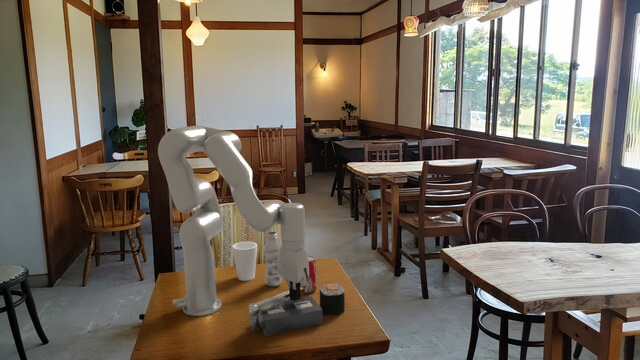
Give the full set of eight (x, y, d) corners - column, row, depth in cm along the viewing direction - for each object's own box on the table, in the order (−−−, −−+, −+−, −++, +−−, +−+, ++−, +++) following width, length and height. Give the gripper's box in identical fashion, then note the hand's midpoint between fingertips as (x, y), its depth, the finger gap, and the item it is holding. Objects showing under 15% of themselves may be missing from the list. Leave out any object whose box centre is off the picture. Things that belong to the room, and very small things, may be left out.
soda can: (314, 294, 163) (314, 262, 161) (295, 293, 165) (294, 261, 163) (318, 286, 170) (318, 255, 168) (300, 285, 172) (299, 254, 169)
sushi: (322, 316, 147) (321, 293, 146) (318, 305, 156) (318, 282, 154) (347, 314, 149) (347, 291, 147) (342, 303, 157) (341, 280, 155)
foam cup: (235, 273, 184) (233, 242, 182) (258, 272, 185) (257, 240, 183) (233, 283, 175) (231, 250, 172) (258, 281, 176) (256, 248, 173)
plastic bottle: (285, 282, 174) (284, 231, 170) (276, 289, 168) (274, 236, 164) (271, 280, 177) (269, 229, 173) (261, 287, 171) (259, 234, 167)
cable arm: (252, 315, 137) (252, 308, 136) (247, 312, 139) (246, 305, 139) (305, 294, 150) (305, 288, 150) (299, 291, 153) (299, 285, 152)
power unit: (254, 338, 135) (253, 321, 134) (247, 322, 144) (246, 306, 143) (322, 324, 142) (322, 308, 141) (311, 310, 151) (311, 295, 150)
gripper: (268, 241, 145) (271, 295, 149) (300, 252, 135) (301, 310, 138) (287, 235, 150) (289, 288, 154) (318, 246, 140) (320, 302, 143)
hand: (295, 299), depth 146 cm, fingers closed
